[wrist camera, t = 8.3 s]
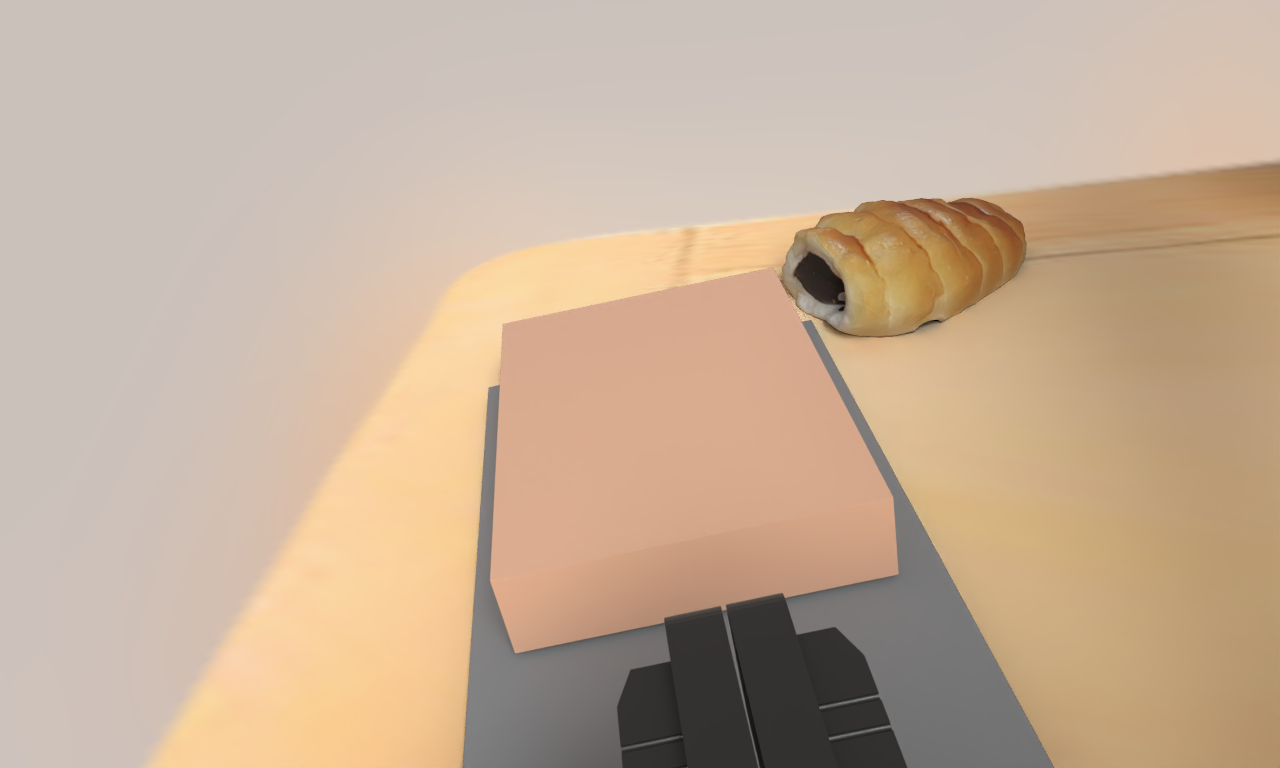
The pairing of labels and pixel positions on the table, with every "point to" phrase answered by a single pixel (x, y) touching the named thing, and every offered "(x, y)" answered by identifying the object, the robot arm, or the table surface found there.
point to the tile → (675, 464)
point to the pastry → (902, 263)
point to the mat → (863, 612)
